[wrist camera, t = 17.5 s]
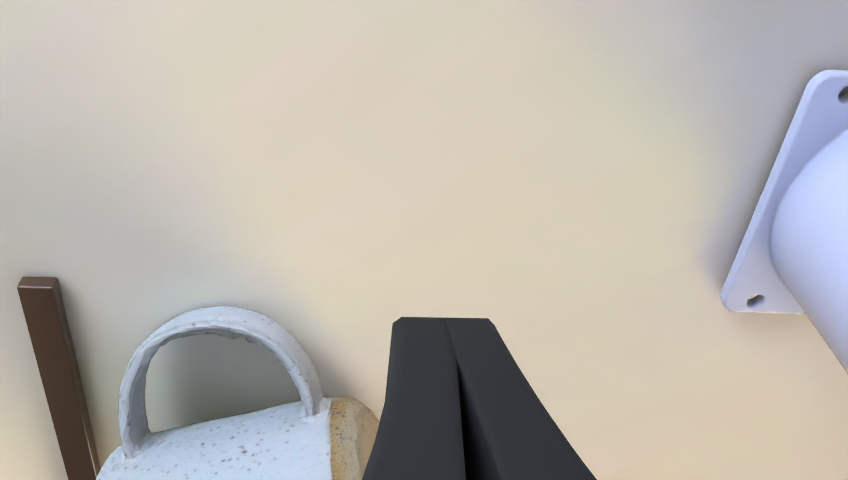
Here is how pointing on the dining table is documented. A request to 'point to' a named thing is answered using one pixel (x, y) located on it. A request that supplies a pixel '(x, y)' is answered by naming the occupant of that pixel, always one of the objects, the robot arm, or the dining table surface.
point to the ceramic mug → (242, 418)
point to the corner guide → (59, 375)
